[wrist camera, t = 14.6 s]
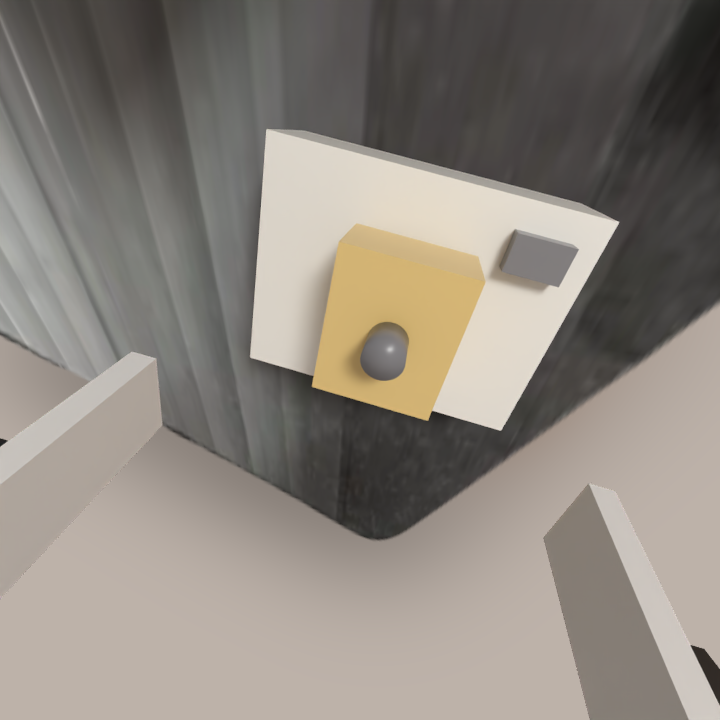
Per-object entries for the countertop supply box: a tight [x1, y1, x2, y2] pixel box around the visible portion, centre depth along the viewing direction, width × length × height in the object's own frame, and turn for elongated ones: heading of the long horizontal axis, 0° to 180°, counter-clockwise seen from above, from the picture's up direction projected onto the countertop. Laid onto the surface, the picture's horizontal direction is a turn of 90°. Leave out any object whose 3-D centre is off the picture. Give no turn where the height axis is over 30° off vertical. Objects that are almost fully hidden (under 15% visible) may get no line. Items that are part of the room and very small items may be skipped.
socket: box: [250, 129, 619, 431], centre depth 25 cm, size 18×14×7 cm
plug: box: [312, 223, 486, 421], centre depth 22 cm, size 6×8×13 cm
